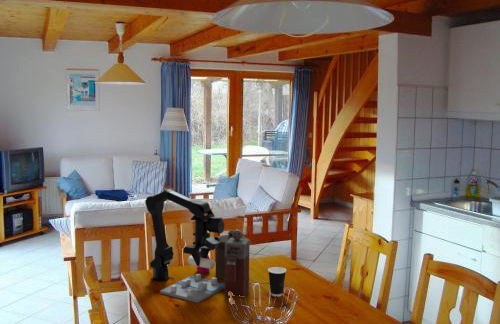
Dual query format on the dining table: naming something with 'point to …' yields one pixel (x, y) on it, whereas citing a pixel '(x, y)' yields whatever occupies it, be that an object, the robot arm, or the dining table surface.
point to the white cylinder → (202, 262)
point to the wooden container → (222, 255)
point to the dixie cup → (276, 280)
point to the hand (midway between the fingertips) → (201, 264)
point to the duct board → (194, 288)
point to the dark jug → (237, 265)
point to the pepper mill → (202, 269)
